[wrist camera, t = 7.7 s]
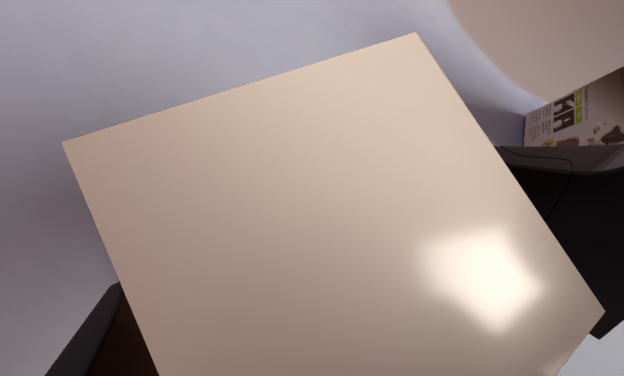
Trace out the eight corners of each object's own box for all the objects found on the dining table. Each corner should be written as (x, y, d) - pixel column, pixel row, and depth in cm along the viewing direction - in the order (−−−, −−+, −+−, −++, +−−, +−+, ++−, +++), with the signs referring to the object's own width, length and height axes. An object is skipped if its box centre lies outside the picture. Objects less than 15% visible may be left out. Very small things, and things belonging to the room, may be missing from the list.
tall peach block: (335, 266, 16) (623, 316, 3) (259, 316, 14) (286, 789, 2) (296, 193, 16) (418, 17, 4) (218, 232, 15) (22, 129, 2)
